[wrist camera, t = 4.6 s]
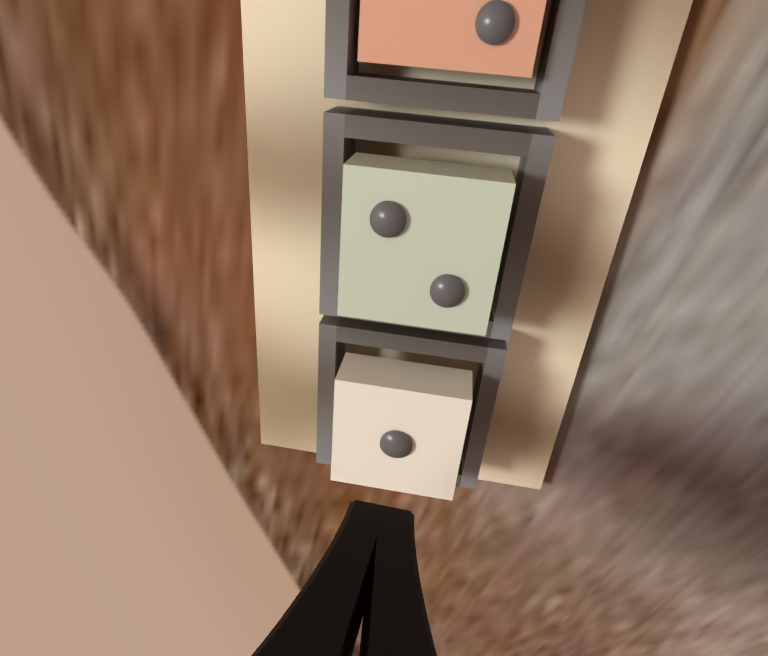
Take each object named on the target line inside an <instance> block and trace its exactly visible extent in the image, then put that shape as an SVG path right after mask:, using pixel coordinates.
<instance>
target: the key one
mask: <svg viewBox="0 0 768 656" xmlns="http://www.w3.org/2000/svg"><path fill="white" fill-rule="evenodd" d="M471 406H472V371H470V370H463V369H457V368H450V367H443V366H436V365H429V364H423V363H416V362H409V361H402V360H395V359H389V358H382V357H375V356H368V355H361V354H355V353H348V352H346V353H345V356H344V358H343V360H342V363H341V365H340V368H339V370H338V373H337V375H336V378H335V383H334V408H333V433H332V458H331V480H334V481H340V482H346V483H351V484H357V485H363V486H369V487H375V488H381V489H387V490H393V491H399V492H404V493H410V494H416V495H422V496H428V497H434V498H440V499H446V500H451V501H452V500H453V495H454V490H455V485H456V480H457V475H458V470H459V465H460V460H461V455H462V450H463V445H464V440H465V435H466V430H467V425H468V420H469V416H470V411H471Z"/></svg>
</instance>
